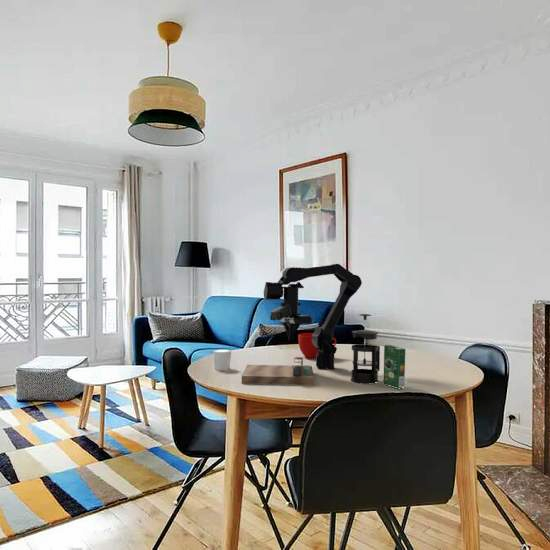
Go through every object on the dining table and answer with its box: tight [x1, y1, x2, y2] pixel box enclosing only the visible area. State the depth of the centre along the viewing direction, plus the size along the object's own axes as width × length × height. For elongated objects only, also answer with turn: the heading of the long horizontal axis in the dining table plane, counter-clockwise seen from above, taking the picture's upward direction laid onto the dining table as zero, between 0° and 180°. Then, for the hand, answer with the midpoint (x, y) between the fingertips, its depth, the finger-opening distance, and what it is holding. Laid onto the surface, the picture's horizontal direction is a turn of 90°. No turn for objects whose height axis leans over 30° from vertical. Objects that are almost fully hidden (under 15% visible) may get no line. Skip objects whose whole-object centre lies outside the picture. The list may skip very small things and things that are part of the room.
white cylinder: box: [212, 349, 232, 371], centre depth 179 cm, size 7×7×7 cm
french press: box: [350, 313, 381, 385], centre depth 162 cm, size 12×9×23 cm
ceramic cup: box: [297, 332, 337, 360], centre depth 208 cm, size 13×17×10 cm
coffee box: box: [383, 344, 406, 388], centre depth 153 cm, size 8×3×13 cm, turn 23°
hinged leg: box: [292, 356, 304, 376], centre depth 164 cm, size 18×3×3 cm, turn 176°
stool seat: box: [241, 364, 315, 386], centre depth 165 cm, size 24×20×4 cm
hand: (290, 340), depth 180 cm, fingers closed
